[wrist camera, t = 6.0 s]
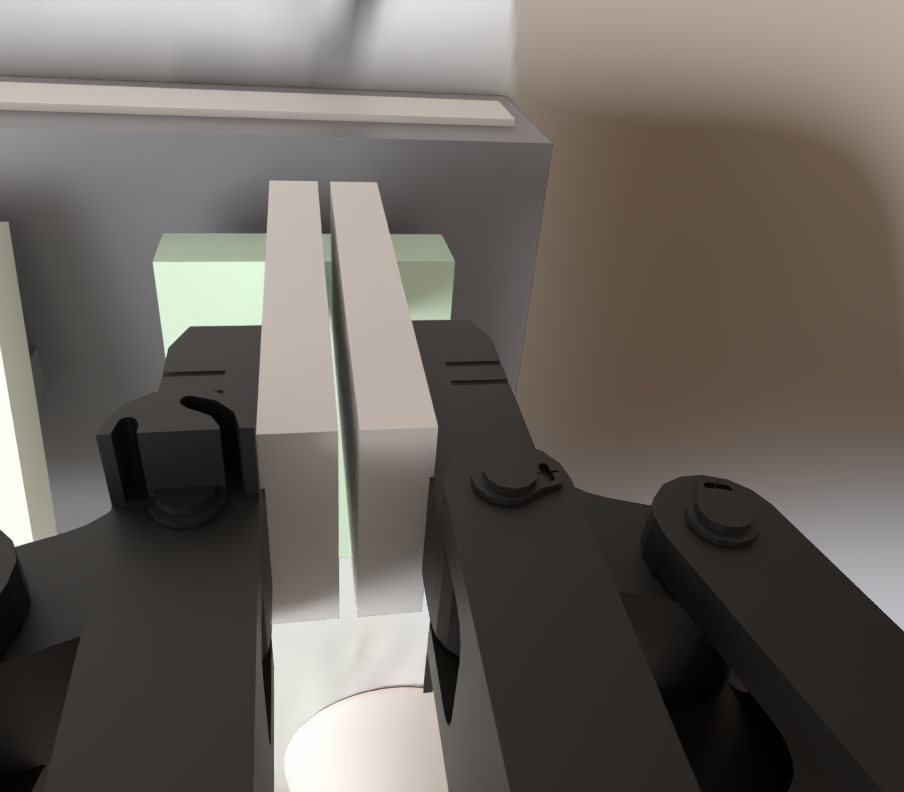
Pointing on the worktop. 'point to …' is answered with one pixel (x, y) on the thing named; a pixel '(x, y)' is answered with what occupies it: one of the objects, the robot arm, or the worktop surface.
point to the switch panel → (232, 218)
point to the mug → (370, 745)
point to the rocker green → (242, 286)
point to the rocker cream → (19, 420)
